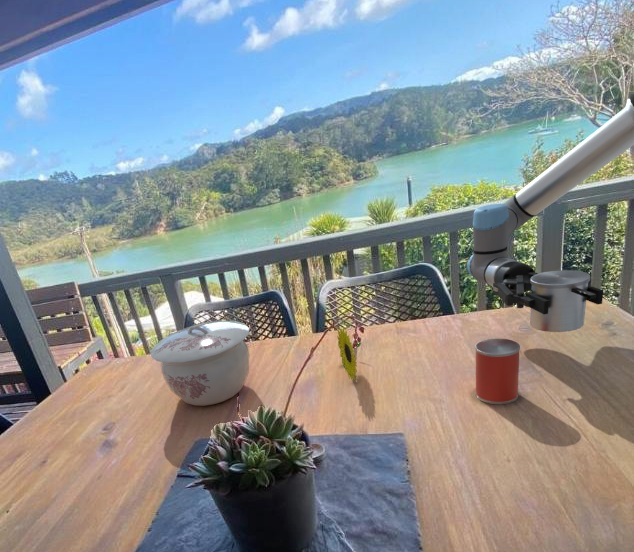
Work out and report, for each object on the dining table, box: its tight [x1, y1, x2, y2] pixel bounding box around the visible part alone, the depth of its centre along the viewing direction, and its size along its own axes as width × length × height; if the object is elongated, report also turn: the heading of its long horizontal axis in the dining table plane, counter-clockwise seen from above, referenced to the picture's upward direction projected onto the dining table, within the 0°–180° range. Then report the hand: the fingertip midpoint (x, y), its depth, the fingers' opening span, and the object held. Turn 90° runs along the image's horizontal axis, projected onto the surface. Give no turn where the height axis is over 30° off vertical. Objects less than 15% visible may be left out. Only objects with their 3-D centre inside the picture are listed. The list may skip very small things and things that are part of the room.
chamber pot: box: [149, 320, 250, 407], centre depth 120 cm, size 28×28×21 cm
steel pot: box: [529, 269, 596, 333], centre depth 86 cm, size 10×14×10 cm, turn 177°
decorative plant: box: [336, 326, 362, 382], centre depth 118 cm, size 15×6×30 cm
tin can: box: [474, 338, 521, 405], centre depth 90 cm, size 8×8×12 cm
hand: (573, 302), depth 84 cm, fingers closed on steel pot, 9 cm apart
